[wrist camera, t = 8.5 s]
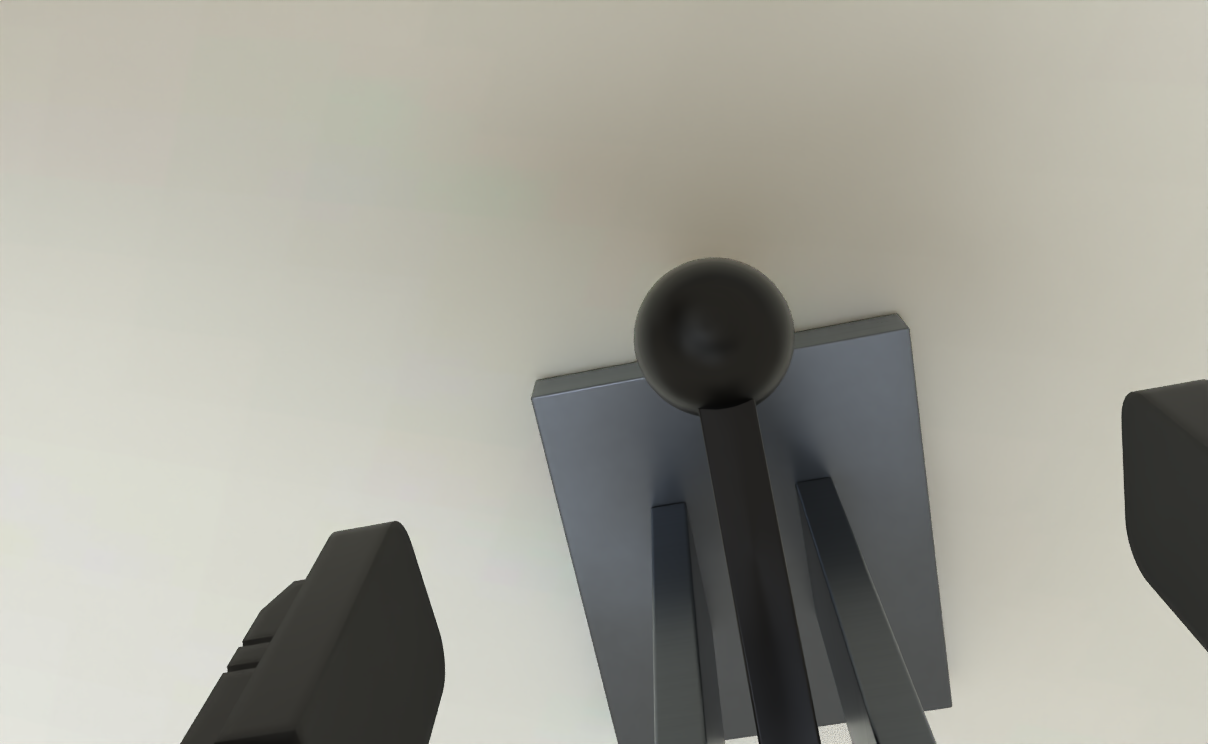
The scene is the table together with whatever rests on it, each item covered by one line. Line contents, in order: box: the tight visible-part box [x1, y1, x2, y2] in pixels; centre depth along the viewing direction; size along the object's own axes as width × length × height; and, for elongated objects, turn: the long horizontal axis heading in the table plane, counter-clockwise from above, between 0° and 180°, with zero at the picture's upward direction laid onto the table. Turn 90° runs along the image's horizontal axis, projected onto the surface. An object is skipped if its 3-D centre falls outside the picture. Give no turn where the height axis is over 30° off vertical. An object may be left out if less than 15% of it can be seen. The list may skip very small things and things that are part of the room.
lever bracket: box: [531, 314, 952, 744], centre depth 23 cm, size 12×10×14 cm
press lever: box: [634, 258, 821, 744], centre depth 19 cm, size 13×3×3 cm
